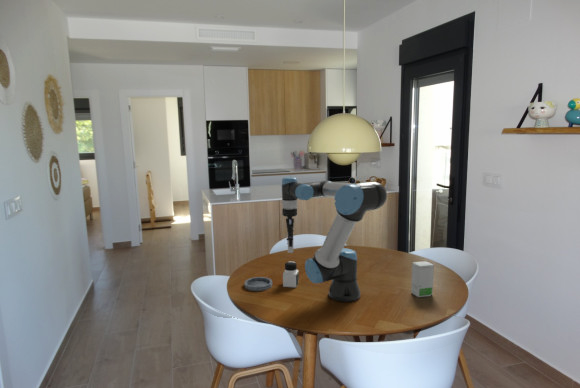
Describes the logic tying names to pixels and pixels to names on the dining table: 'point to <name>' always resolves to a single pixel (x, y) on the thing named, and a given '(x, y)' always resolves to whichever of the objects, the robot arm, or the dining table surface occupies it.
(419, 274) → the skincare box
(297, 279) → the medicine bottle
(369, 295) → the dining table surface
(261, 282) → the dish
